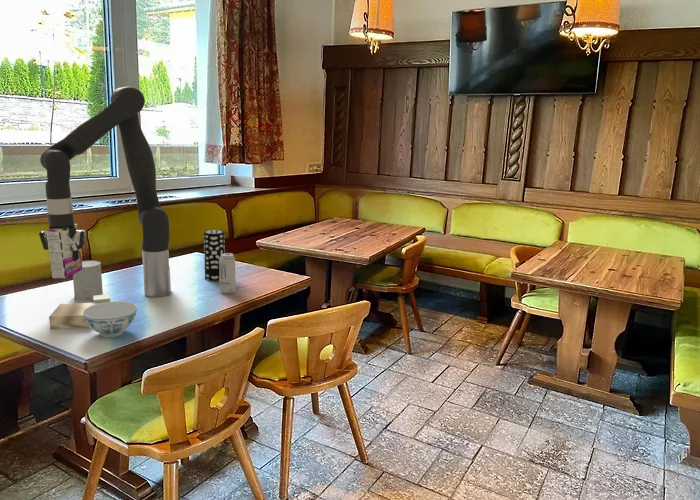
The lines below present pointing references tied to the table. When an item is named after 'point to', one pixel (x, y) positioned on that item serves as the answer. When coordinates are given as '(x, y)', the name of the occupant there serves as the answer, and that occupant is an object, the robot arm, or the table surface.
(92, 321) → the chinaware
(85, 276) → the speckled grey cylinder
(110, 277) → the table surface
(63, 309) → the pedestal
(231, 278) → the energy drink can
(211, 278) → the white-spotted black cylinder
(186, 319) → the table surface
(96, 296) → the brick
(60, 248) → the candy bar box
